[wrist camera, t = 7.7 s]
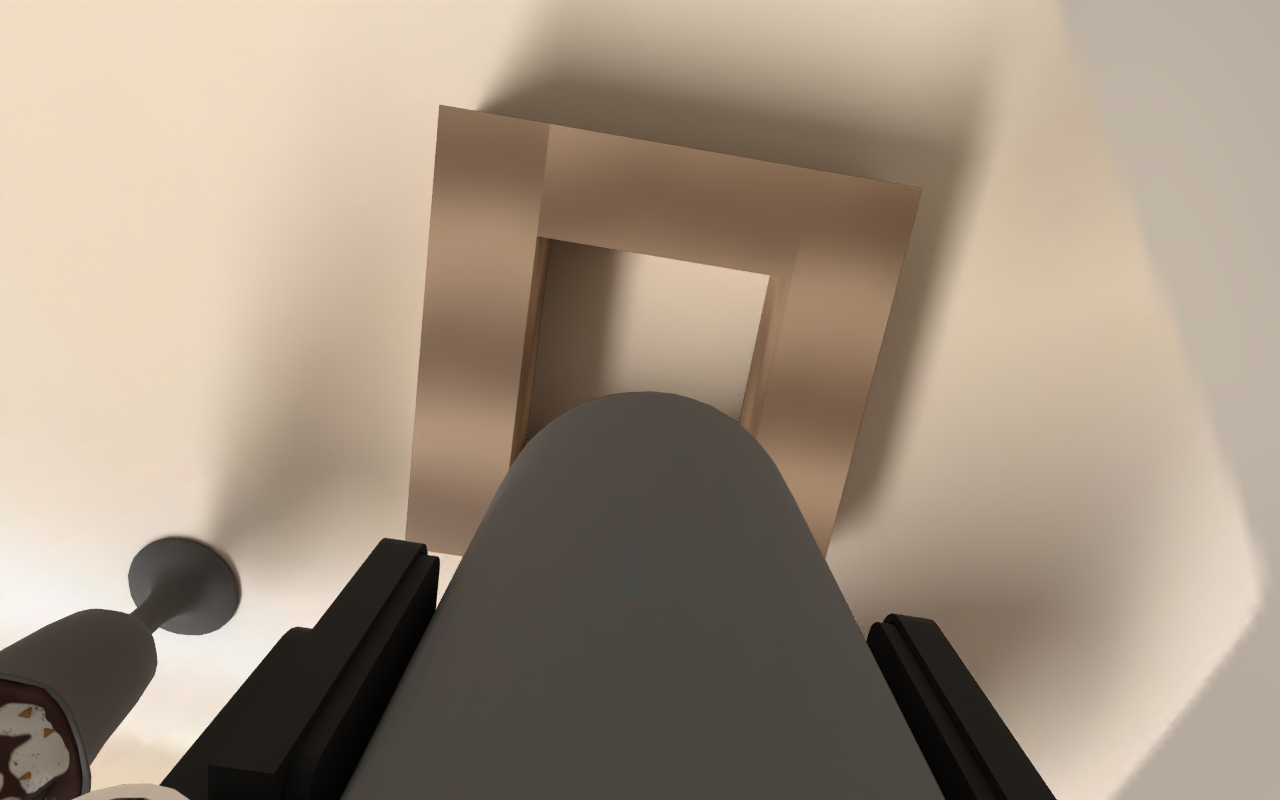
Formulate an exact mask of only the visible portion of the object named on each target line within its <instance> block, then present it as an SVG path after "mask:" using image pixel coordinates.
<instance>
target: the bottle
mask: <svg viewBox="0 0 1280 800" xmlns="http://www.w3.org/2000/svg"><path fill="white" fill-rule="evenodd" d="M340 800H945V798H944V796H943V794H942V792H941V790H940V788H939V786H938V784H937V782H936V780H935V778H934V776H933V774H932V772H931V770H930V768H929V766H928V764H927V762H926V760H925V758H924V756H923V754H922V752H921V750H920V748H919V746H918V744H917V742H916V740H915V738H914V736H913V734H912V732H911V730H910V728H909V726H908V724H907V722H906V720H905V718H904V716H903V714H902V712H901V710H900V708H899V706H898V704H897V702H896V700H895V698H894V696H893V694H892V692H891V690H890V688H889V686H888V684H887V682H886V680H885V678H884V676H883V674H882V672H881V670H880V668H879V666H878V664H877V662H876V660H875V658H874V656H873V654H872V652H871V650H870V648H869V646H868V644H867V642H866V640H865V638H864V636H863V634H862V632H861V630H860V628H859V626H858V624H857V623H856V621H855V619H854V617H853V615H852V613H851V611H850V609H849V607H848V605H847V603H846V601H845V599H844V597H843V595H842V593H841V591H840V589H839V587H838V585H837V583H836V581H835V579H834V577H833V575H832V573H831V571H830V569H829V567H828V565H827V563H826V561H825V559H824V557H823V555H822V553H821V551H820V549H819V547H818V545H817V543H816V541H815V539H814V537H813V535H812V533H811V531H810V529H809V527H808V525H807V523H806V521H805V519H804V517H803V515H802V513H801V511H800V509H799V507H798V505H797V503H796V501H795V499H794V497H793V495H792V493H791V491H790V489H789V488H788V486H787V484H786V482H785V480H784V479H783V477H782V475H781V473H780V471H779V469H778V468H777V466H776V464H775V463H774V461H773V460H772V459H771V457H770V456H769V454H768V453H767V452H766V451H765V450H764V448H763V447H762V446H761V445H760V443H759V442H758V441H757V440H756V438H755V437H754V436H752V435H751V434H750V433H749V432H748V431H747V430H746V429H745V428H743V427H742V426H741V425H740V424H739V423H738V422H736V421H735V420H733V419H732V418H730V417H728V416H727V415H725V414H723V413H722V412H720V411H718V410H717V409H715V408H714V407H712V406H710V405H707V404H704V403H702V402H699V401H696V400H694V399H691V398H687V397H683V396H679V395H675V394H669V393H660V392H628V393H619V394H612V395H608V396H604V397H601V398H597V399H594V400H591V401H587V402H585V403H582V404H580V405H578V406H576V407H573V408H572V409H570V410H568V411H567V412H565V413H563V414H562V415H560V416H558V417H557V418H555V419H553V420H552V421H551V422H550V423H549V424H548V425H546V426H545V427H544V428H543V429H542V430H540V431H539V432H538V433H537V434H536V435H535V436H534V437H533V438H532V439H531V440H530V441H529V442H528V443H527V445H526V446H525V447H524V449H523V450H522V451H521V453H520V454H519V455H518V457H517V458H516V459H515V461H514V463H513V464H512V466H511V468H510V469H509V471H508V473H507V474H506V476H505V478H504V479H503V481H502V483H501V484H500V486H499V488H498V490H497V492H496V494H495V496H494V498H493V500H492V501H491V503H490V505H489V507H488V509H487V511H486V513H485V515H484V517H483V519H482V521H481V523H480V525H479V527H478V529H477V531H476V533H475V535H474V537H473V538H472V540H471V542H470V544H469V546H468V548H467V550H466V552H465V554H464V556H463V558H462V560H461V562H460V564H459V566H458V568H457V570H456V572H455V574H454V575H453V577H452V579H451V581H450V583H449V585H448V587H447V589H446V591H445V593H444V595H443V597H442V599H441V601H440V603H439V605H438V607H437V609H436V611H435V612H434V614H433V616H432V618H431V620H430V622H429V624H428V626H427V628H426V630H425V632H424V634H423V636H422V638H421V640H420V642H419V644H418V646H417V648H416V649H415V651H414V653H413V655H412V657H411V659H410V661H409V663H408V665H407V667H406V669H405V671H404V673H403V675H402V677H401V679H400V681H399V683H398V685H397V687H396V689H395V691H394V693H393V695H392V697H391V699H390V701H389V703H388V705H387V707H386V709H385V711H384V713H383V715H382V717H381V719H380V721H379V723H378V725H377V727H376V729H375V731H374V732H373V734H372V736H371V738H370V740H369V742H368V744H367V746H366V748H365V750H364V752H363V754H362V756H361V758H360V760H359V762H358V764H357V766H356V768H355V770H354V772H353V774H352V776H351V778H350V780H349V782H348V784H347V786H346V788H345V790H344V792H343V794H342V796H341V798H340Z"/></svg>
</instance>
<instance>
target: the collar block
mask: <svg viewBox="0 0 1280 800" xmlns="http://www.w3.org/2000/svg"><path fill="white" fill-rule="evenodd" d="M921 192H922V188H918V187H913V186H907V185H901V184H895V183H889V182H884V181H878V180H872V179H866V178H861V177H855V176H849V175H843V174H837V173H832V172H826V171H820V170H814V169H809V168H803V167H797V166H791V165H785V164H780V163H774V162H768V161H762V160H757V159H751V158H745V157H739V156H733V155H728V154H722V153H716V152H710V151H705V150H699V149H693V148H687V147H681V146H676V145H670V144H664V143H658V142H653V141H647V140H641V139H635V138H629V137H624V136H618V135H612V134H606V133H600V132H595V131H589V130H583V129H577V128H572V127H566V126H560V125H554V124H548V123H543V122H537V121H531V120H525V119H520V118H514V117H508V116H502V115H496V114H491V113H485V112H479V111H473V110H468V109H462V108H456V107H450V106H444V105H439V116H438V129H437V142H436V155H435V167H434V180H433V193H432V206H431V218H430V231H429V244H428V257H427V270H426V282H425V295H424V308H423V321H422V333H421V346H420V359H419V372H418V384H417V397H416V410H415V423H414V435H413V448H412V461H411V474H410V487H409V499H408V512H407V525H406V538H405V541H409V542H416V543H423V544H426V546H427V551H431V552H438V553H445V554H451V555H458V556H464V554H465V552H466V550H467V548H468V546H469V544H470V542H471V540H472V538H473V537H474V535H475V533H476V531H477V529H478V527H479V525H480V523H481V521H482V519H483V517H484V515H485V513H486V511H487V509H488V507H489V505H490V503H491V501H492V500H493V498H494V496H495V494H496V492H497V490H498V488H499V486H500V484H501V483H502V481H503V479H504V478H505V476H506V474H507V473H508V471H509V469H510V468H511V466H512V464H513V463H514V461H515V459H516V458H517V457H518V455H519V454H520V453H521V451H522V450H523V449H524V447H525V446H526V445H527V443H528V442H529V441H528V440H526V434H527V426H528V418H529V410H530V402H531V394H532V387H533V379H534V371H535V363H536V355H537V347H538V339H539V331H540V323H541V315H542V307H543V299H544V291H545V283H546V275H547V267H548V259H549V251H550V243H551V239H556V240H562V241H568V242H574V243H580V244H586V245H592V246H598V247H604V248H610V249H616V250H622V251H628V252H634V253H640V254H646V255H652V256H658V257H664V258H670V259H676V260H682V261H688V262H694V263H700V264H706V265H712V266H718V267H724V268H730V269H736V270H742V271H748V272H754V273H760V274H766V275H770V278H769V283H768V287H767V292H766V297H765V302H764V306H763V311H762V316H761V320H760V325H759V330H758V335H757V339H756V344H755V349H754V353H753V358H752V363H751V368H750V372H749V377H748V382H747V386H746V391H745V396H744V401H743V405H742V410H741V415H740V419H739V424H740V425H741V426H742V427H743V428H745V429H746V430H747V431H748V432H749V433H750V434H751V435H752V436H754V437H755V438H756V440H757V441H758V442H759V443H760V445H761V446H762V447H763V448H764V450H765V451H766V452H767V453H768V454H769V456H770V457H771V459H772V460H773V461H774V463H775V464H776V466H777V468H778V469H779V471H780V473H781V475H782V477H783V479H784V480H785V482H786V484H787V486H788V488H789V489H790V491H791V493H792V495H793V497H794V499H795V501H796V503H797V505H798V507H799V509H800V511H801V513H802V515H803V517H804V519H805V521H806V523H807V525H808V527H809V529H810V531H811V533H812V535H813V537H814V539H815V541H816V543H817V545H818V547H819V549H820V551H821V553H822V555H823V557H824V559H825V557H826V553H827V550H828V546H829V542H830V538H831V534H832V531H833V527H834V523H835V519H836V515H837V512H838V508H839V504H840V500H841V496H842V493H843V489H844V485H845V481H846V477H847V474H848V470H849V466H850V462H851V458H852V454H853V451H854V447H855V443H856V439H857V435H858V432H859V428H860V424H861V420H862V416H863V413H864V409H865V405H866V401H867V397H868V394H869V390H870V386H871V382H872V378H873V375H874V371H875V367H876V363H877V359H878V355H879V352H880V348H881V344H882V340H883V336H884V333H885V329H886V325H887V321H888V317H889V314H890V310H891V306H892V302H893V298H894V295H895V291H896V287H897V283H898V279H899V276H900V272H901V268H902V264H903V260H904V256H905V253H906V249H907V245H908V241H909V237H910V234H911V230H912V226H913V222H914V218H915V215H916V211H917V207H918V203H919V199H920V196H921Z"/></svg>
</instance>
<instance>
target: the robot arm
mask: <svg viewBox="0 0 1280 800" xmlns="http://www.w3.org/2000/svg"><path fill="white" fill-rule="evenodd" d="M427 553H428V552H427V546H426V544H423V543H416V542H409V541H403V540H396V539H389V538H383V539H382V540H381V541H380V542H379V544H378V545H377V546H376V547H375V549H374V550H373V551H372V553H371V554H370V555H369V557H368V558H367V559H366V560H365V562H364V563H363V564H362V566H361V567H360V568H359V569H358V571H357V572H356V573H355V575H354V576H353V577H352V579H351V580H350V581H349V582H348V584H347V585H346V586H345V588H344V589H343V590H342V592H341V593H340V594H339V595H338V597H337V598H336V599H335V601H334V602H333V603H332V604H331V606H330V607H329V608H328V610H327V611H326V612H325V614H324V615H323V616H322V617H321V619H320V620H319V621H318V623H317V624H316V625H315V626H314V628H313V629H310V628H303V627H295V628H291V629H290V630H289V631H288V632H287V633H285V634H284V635H283V636H282V638H281V639H280V640H279V641H278V642H277V644H276V645H275V646H274V647H273V648H272V650H271V651H270V652H269V653H268V654H267V656H266V657H265V658H264V659H263V660H262V662H261V663H260V664H259V665H258V667H257V668H256V669H255V670H254V671H253V673H252V674H251V675H250V676H249V677H248V679H247V680H246V681H245V682H244V683H243V685H242V686H241V687H240V688H239V689H238V691H237V692H236V693H235V694H234V696H233V697H232V698H231V699H230V700H229V702H228V703H227V704H226V705H225V706H224V708H223V709H222V710H221V711H220V712H219V714H218V715H217V716H216V717H215V718H214V720H213V721H212V722H211V723H210V725H209V726H208V727H207V728H206V729H205V731H204V732H203V733H202V734H201V735H200V737H199V738H198V739H197V740H196V741H195V743H194V744H193V745H192V746H191V747H190V749H189V750H188V751H187V752H186V754H185V755H184V756H183V757H182V758H181V760H180V761H179V762H178V763H177V764H176V766H175V767H174V768H173V769H172V770H171V772H170V773H169V774H168V775H167V776H166V778H165V779H164V780H163V781H162V783H161V784H160V785H155V784H122V785H118V786H114V787H109V788H105V789H100V790H96V791H92V792H89V793H87V794H84V795H82V796H79V797H77V798H75V799H72V800H340V798H341V796H342V794H343V792H344V790H345V788H346V786H347V784H348V782H349V780H350V778H351V776H352V774H353V772H354V770H355V768H356V766H357V764H358V762H359V760H360V758H361V756H362V754H363V752H364V750H365V748H366V746H367V744H368V742H369V740H370V738H371V736H372V734H373V732H374V731H375V729H376V727H377V725H378V723H379V721H380V719H381V717H382V715H383V713H384V711H385V709H386V707H387V705H388V703H389V701H390V699H391V697H392V695H393V693H394V691H395V689H396V687H397V685H398V683H399V681H400V679H401V677H402V675H403V673H404V671H405V669H406V667H407V665H408V663H409V661H410V659H411V657H412V655H413V653H414V651H415V649H416V648H417V646H418V644H419V642H420V640H421V638H422V636H423V634H424V632H425V630H426V628H427V626H428V624H429V622H430V620H431V618H432V616H433V614H434V612H435V611H436V601H437V590H438V580H439V569H440V559H439V557H437V556H430V555H427ZM866 642H867V644H868V646H869V648H870V650H871V652H872V654H873V656H874V658H875V660H876V662H877V664H878V666H879V668H880V670H881V672H882V674H883V676H884V678H885V680H886V682H887V684H888V686H889V688H890V690H891V692H892V694H893V696H894V698H895V700H896V702H897V704H898V706H899V708H900V710H901V712H902V714H903V716H904V718H905V720H906V722H907V724H908V726H909V728H910V730H911V732H912V734H913V736H914V738H915V740H916V742H917V744H918V746H919V748H920V750H921V752H922V754H923V756H924V758H925V760H926V762H927V764H928V766H929V768H930V770H931V772H932V774H933V776H934V778H935V780H936V782H937V784H938V786H939V788H940V790H941V792H942V794H943V796H944V798H945V800H1057V799H1056V798H1055V797H1054V795H1053V794H1052V792H1051V791H1050V789H1049V788H1048V786H1047V785H1046V783H1045V782H1044V780H1043V779H1042V778H1041V776H1040V775H1039V773H1038V772H1037V770H1036V769H1035V767H1034V766H1033V764H1032V763H1031V761H1030V760H1029V758H1028V757H1027V756H1026V754H1025V753H1024V751H1023V750H1022V748H1021V747H1020V745H1019V744H1018V742H1017V741H1016V739H1015V738H1014V737H1013V735H1012V734H1011V732H1010V731H1009V729H1008V728H1007V726H1006V725H1005V723H1004V722H1003V720H1002V719H1001V718H1000V716H999V715H998V713H997V712H996V710H995V709H994V707H993V706H992V704H991V703H990V701H989V700H988V698H987V697H986V696H985V694H984V693H983V691H982V690H981V688H980V687H979V685H978V684H977V682H976V681H975V679H974V678H973V677H972V675H971V674H970V672H969V671H968V669H967V668H966V666H965V665H964V663H963V662H962V660H961V659H960V657H959V656H958V655H957V653H956V652H955V650H954V649H953V647H952V646H951V644H950V643H949V641H948V640H947V638H946V637H945V636H944V634H943V633H942V631H941V630H940V628H939V627H938V625H937V624H936V623H935V622H934V621H933V620H930V619H924V618H918V617H911V616H904V615H898V614H889V615H887V617H886V618H885V619H884V621H883V623H880V622H875V623H874V624H873V625H872V626H871V629H870V631H869V634H868V638H867V641H866Z"/></svg>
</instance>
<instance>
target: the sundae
mask: <svg viewBox="0 0 1280 800" xmlns="http://www.w3.org/2000/svg"><path fill="white" fill-rule="evenodd" d="M128 580H129V587H130V592H131V596H132V598H133V600H134V603H135V605H136V606H137V609H136V610H134V611H133V612H132V613H130V614H126V613H123V612H118V611H112V610H104V609H89V610H84V611H80V612H76V613H74V614H72V615H69V616H67V617H65V618H63V619H60V620H58V621H56V622H54V623H51V624H49V625H47V626H45V627H43V628H41V629H39V630H38V631H36V632H34V633H32V634H30V635H29V636H27V637H25V638H23V639H21V640H19V641H18V642H16V643H14V644H12V645H10V646H9V647H7V648H5V649H3V650H1V651H0V800H72V799H75V798H77V797H79V796H82V795H84V794H87V793H89V792H90V790H91V771H90V765H91V764H92V762H93V760H94V759H95V757H96V756H97V754H98V753H99V751H100V750H101V748H102V747H103V745H104V744H105V742H106V741H107V740H108V739H109V737H110V736H111V735H112V733H113V732H114V731H115V730H116V728H117V727H118V726H119V725H120V723H121V722H122V721H123V720H124V718H125V717H126V716H127V715H128V713H129V712H130V711H131V710H132V708H133V707H134V706H135V705H136V703H137V702H138V700H139V699H140V697H141V695H142V694H143V692H144V691H145V689H146V688H147V686H148V684H149V683H150V681H151V680H152V678H153V677H154V675H155V671H156V667H157V653H156V648H155V643H154V639H153V636H152V633H153V632H155V631H156V630H157V629H158V628H159V627H160V628H162V629H165V630H167V631H170V632H173V633H177V634H184V635H203V634H207V633H210V632H213V631H215V630H218V629H220V628H221V627H222V626H223V625H225V624H226V623H227V622H228V621H229V620H230V619H231V618H232V616H233V614H234V612H235V610H236V606H237V603H238V590H237V584H236V581H235V578H234V576H233V574H232V572H231V571H230V569H229V568H228V566H227V564H226V563H225V562H224V561H223V560H222V559H221V558H220V557H219V556H218V555H216V554H215V553H214V552H212V551H211V550H210V549H208V548H206V547H204V546H202V545H200V544H197V543H194V542H191V541H188V540H181V539H164V540H160V541H157V542H154V543H152V544H149V545H147V546H146V547H144V548H143V549H142V550H141V551H140V552H139V553H138V554H137V555H136V556H135V557H134V559H133V561H132V564H131V566H130V570H129V574H128Z"/></svg>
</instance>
